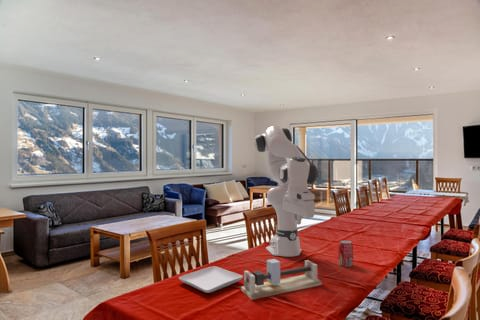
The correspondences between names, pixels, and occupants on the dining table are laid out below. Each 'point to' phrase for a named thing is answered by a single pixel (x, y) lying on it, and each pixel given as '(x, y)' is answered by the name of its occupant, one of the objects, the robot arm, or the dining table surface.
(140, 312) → the dining table surface
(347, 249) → the soda can
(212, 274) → the salad plate
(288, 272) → the linear slide rail
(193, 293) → the dining table surface
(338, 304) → the dining table surface
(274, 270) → the slide rail carriage
